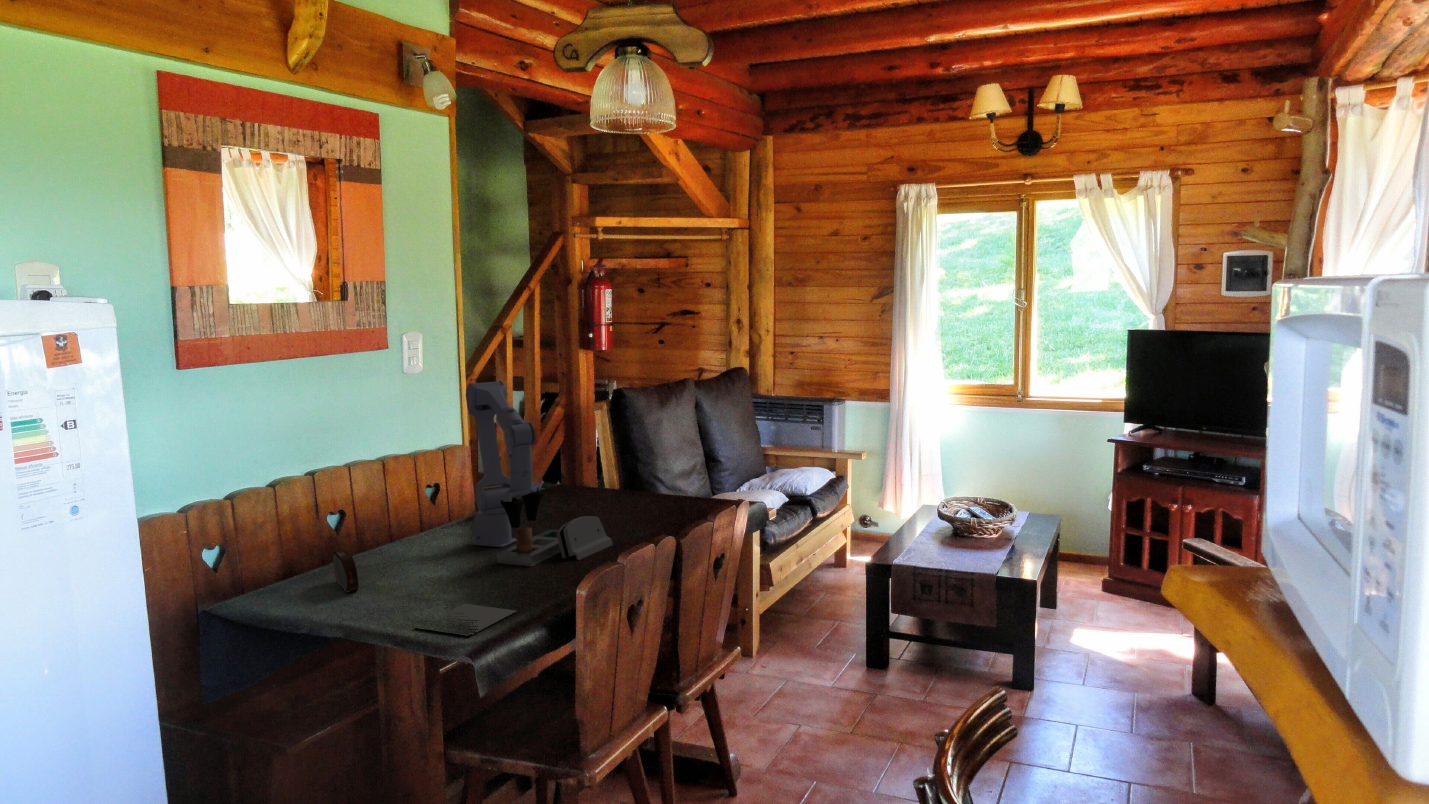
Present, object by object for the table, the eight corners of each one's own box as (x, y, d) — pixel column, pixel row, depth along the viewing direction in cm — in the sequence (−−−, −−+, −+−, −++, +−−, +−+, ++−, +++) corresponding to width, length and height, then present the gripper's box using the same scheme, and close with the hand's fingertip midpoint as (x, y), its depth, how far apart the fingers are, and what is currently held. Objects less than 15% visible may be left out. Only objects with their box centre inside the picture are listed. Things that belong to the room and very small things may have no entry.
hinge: (577, 560, 249) (565, 522, 249) (563, 564, 251) (551, 527, 251) (613, 544, 263) (602, 508, 264) (600, 548, 266) (588, 513, 266)
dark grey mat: (376, 625, 204) (376, 622, 204) (454, 591, 226) (453, 588, 226) (468, 639, 194) (468, 636, 194) (539, 602, 217) (539, 598, 217)
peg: (514, 561, 249) (512, 530, 248) (522, 556, 253) (521, 526, 252) (527, 562, 248) (526, 531, 247) (536, 558, 252) (534, 527, 251)
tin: (360, 594, 225) (358, 558, 224) (346, 596, 223) (343, 560, 222) (346, 578, 237) (344, 544, 236) (332, 581, 236) (330, 546, 235)
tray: (497, 563, 248) (496, 553, 247) (550, 537, 272) (550, 529, 271) (531, 566, 244) (531, 556, 244) (582, 540, 268) (582, 531, 268)
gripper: (519, 477, 240) (521, 531, 241) (549, 466, 253) (551, 518, 255) (494, 475, 242) (497, 529, 244) (526, 465, 256) (528, 516, 257)
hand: (523, 523), depth 249 cm, fingers open, 7 cm apart
